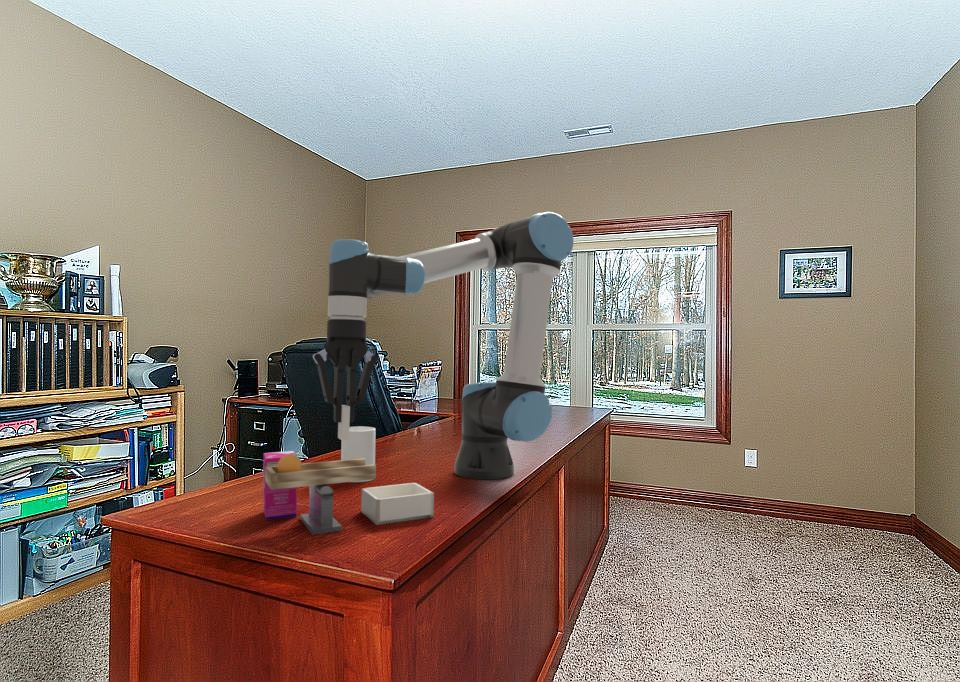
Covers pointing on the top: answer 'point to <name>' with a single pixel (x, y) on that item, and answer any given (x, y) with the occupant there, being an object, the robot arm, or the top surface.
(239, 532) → the top surface
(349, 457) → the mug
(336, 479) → the seesaw
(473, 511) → the top surface
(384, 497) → the white storage bin
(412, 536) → the top surface
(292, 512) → the supplement box
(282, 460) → the ball
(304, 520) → the fulcrum
